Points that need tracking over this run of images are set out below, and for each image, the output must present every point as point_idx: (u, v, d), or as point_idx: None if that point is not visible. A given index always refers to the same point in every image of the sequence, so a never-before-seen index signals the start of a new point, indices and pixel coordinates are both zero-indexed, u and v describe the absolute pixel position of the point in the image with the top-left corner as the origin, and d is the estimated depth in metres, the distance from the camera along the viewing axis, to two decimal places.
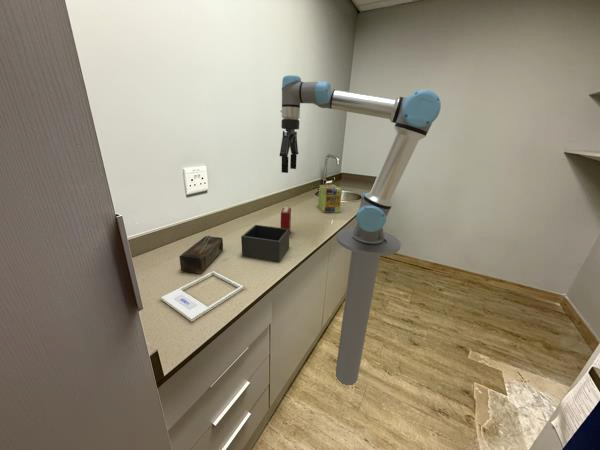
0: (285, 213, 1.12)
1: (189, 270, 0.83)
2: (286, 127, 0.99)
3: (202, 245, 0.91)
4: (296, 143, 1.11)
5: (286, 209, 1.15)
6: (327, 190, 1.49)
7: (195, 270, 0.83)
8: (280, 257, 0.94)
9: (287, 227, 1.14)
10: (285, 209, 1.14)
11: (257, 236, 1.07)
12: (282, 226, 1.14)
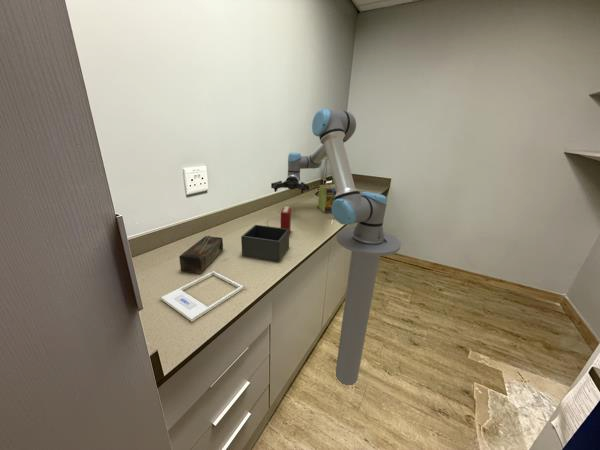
0: (285, 213, 1.12)
1: (189, 270, 0.83)
2: None
3: (202, 245, 0.91)
4: (303, 184, 1.32)
5: (286, 209, 1.15)
6: (327, 190, 1.49)
7: (194, 270, 0.83)
8: (280, 257, 0.94)
9: (287, 227, 1.14)
10: (285, 209, 1.14)
11: (257, 236, 1.07)
12: (282, 226, 1.14)
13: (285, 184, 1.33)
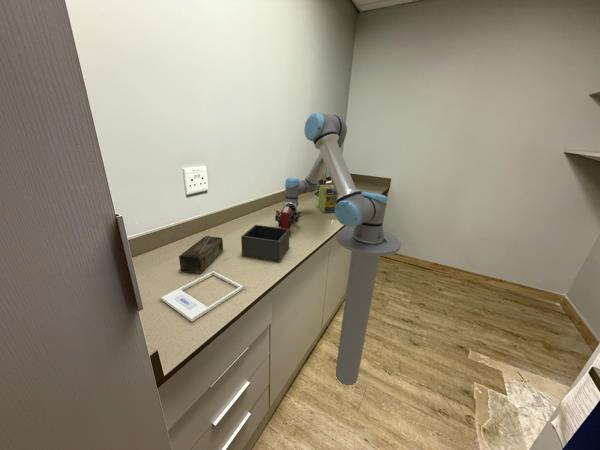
0: (285, 213, 1.12)
1: (189, 270, 0.83)
2: None
3: (202, 245, 0.91)
4: (296, 214, 1.23)
5: (286, 209, 1.15)
6: (327, 190, 1.49)
7: (194, 269, 0.83)
8: (280, 257, 0.94)
9: (287, 227, 1.14)
10: (285, 209, 1.14)
11: (257, 236, 1.07)
12: (282, 226, 1.14)
13: None
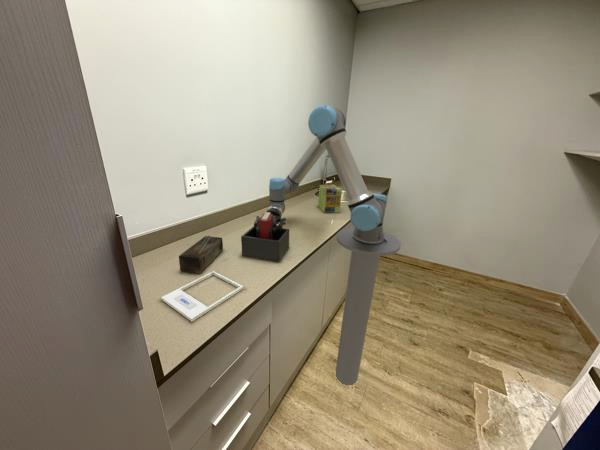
0: (264, 221, 0.92)
1: (188, 270, 0.83)
2: None
3: (202, 245, 0.91)
4: (280, 221, 1.03)
5: (266, 216, 0.95)
6: (327, 190, 1.49)
7: (194, 269, 0.83)
8: (280, 257, 0.94)
9: (267, 237, 0.94)
10: (265, 216, 0.95)
11: None
12: (261, 236, 0.94)
13: None
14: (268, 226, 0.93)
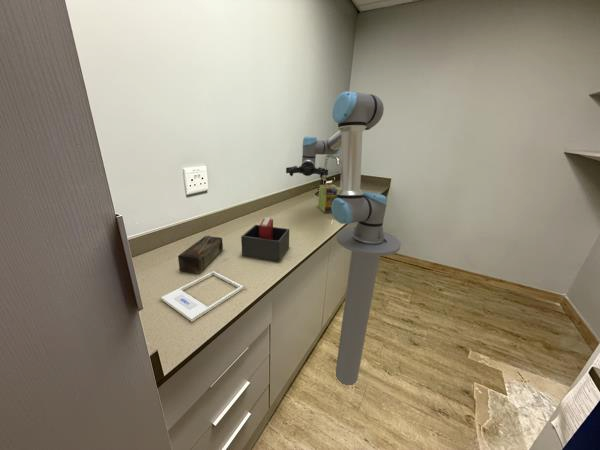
0: (264, 226, 0.93)
1: (188, 270, 0.83)
2: None
3: (201, 245, 0.91)
4: (321, 168, 1.19)
5: (266, 221, 0.95)
6: (327, 190, 1.49)
7: (193, 269, 0.83)
8: (280, 257, 0.94)
9: None
10: (265, 221, 0.95)
11: (257, 236, 1.07)
12: None
13: (301, 169, 1.20)
14: (268, 231, 0.94)
